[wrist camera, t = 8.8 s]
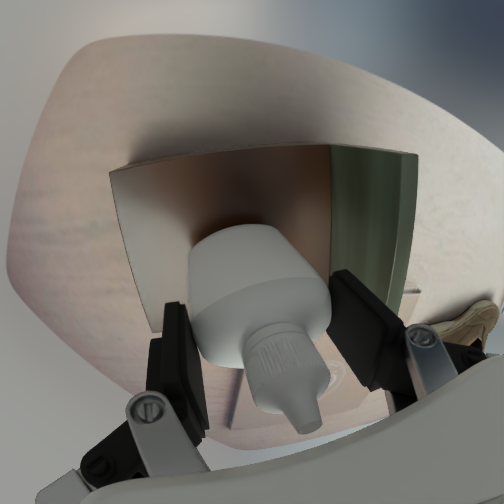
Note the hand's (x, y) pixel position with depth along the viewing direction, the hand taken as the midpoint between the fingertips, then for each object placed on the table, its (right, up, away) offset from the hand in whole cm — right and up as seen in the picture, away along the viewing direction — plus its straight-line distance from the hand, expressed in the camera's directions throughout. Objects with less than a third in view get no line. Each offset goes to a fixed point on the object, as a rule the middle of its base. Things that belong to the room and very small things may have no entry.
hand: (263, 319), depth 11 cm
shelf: (-3, +5, +12) cm, 13 cm away
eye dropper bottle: (-1, +3, +6) cm, 7 cm away
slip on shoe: (+36, -11, +28) cm, 47 cm away
